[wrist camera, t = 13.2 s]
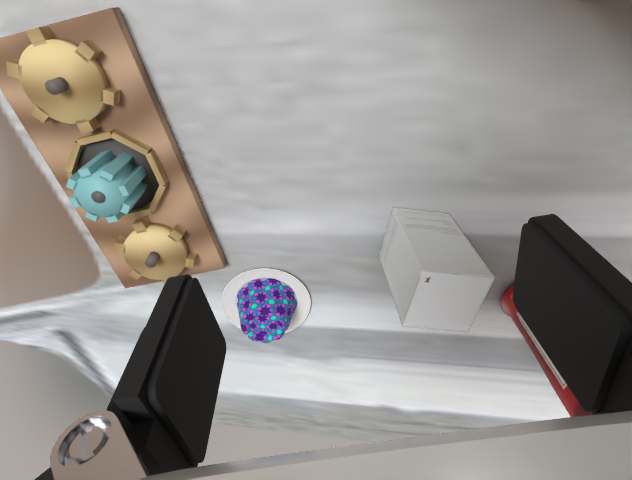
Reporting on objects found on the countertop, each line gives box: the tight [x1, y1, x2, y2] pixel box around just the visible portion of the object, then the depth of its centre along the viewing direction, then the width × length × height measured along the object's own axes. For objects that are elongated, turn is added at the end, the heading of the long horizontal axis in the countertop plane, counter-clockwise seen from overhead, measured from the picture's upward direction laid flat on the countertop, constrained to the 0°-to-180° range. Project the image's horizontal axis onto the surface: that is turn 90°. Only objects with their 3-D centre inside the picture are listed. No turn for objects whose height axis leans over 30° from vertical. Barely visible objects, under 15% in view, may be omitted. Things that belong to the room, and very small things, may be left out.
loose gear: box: [66, 150, 147, 223], centre depth 38 cm, size 6×6×5 cm
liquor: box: [501, 284, 593, 417], centre depth 42 cm, size 7×7×28 cm
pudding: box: [221, 268, 311, 343], centre depth 51 cm, size 12×12×5 cm
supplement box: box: [379, 207, 495, 332], centre depth 42 cm, size 7×7×13 cm
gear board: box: [0, 7, 226, 288], centre depth 40 cm, size 28×13×4 cm, turn 13°
